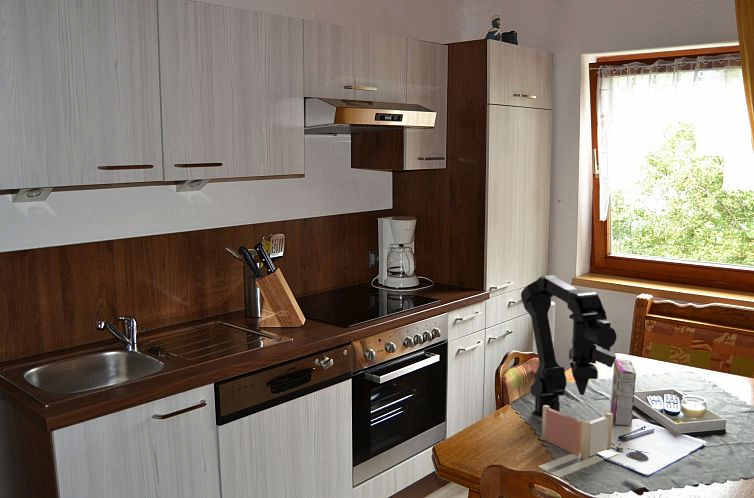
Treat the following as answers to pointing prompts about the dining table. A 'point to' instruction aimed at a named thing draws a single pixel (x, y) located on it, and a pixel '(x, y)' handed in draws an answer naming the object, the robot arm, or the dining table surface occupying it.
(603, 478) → the dining table surface
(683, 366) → the dining table surface
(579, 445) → the panel
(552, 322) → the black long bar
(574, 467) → the card
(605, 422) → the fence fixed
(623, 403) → the candy bar box
